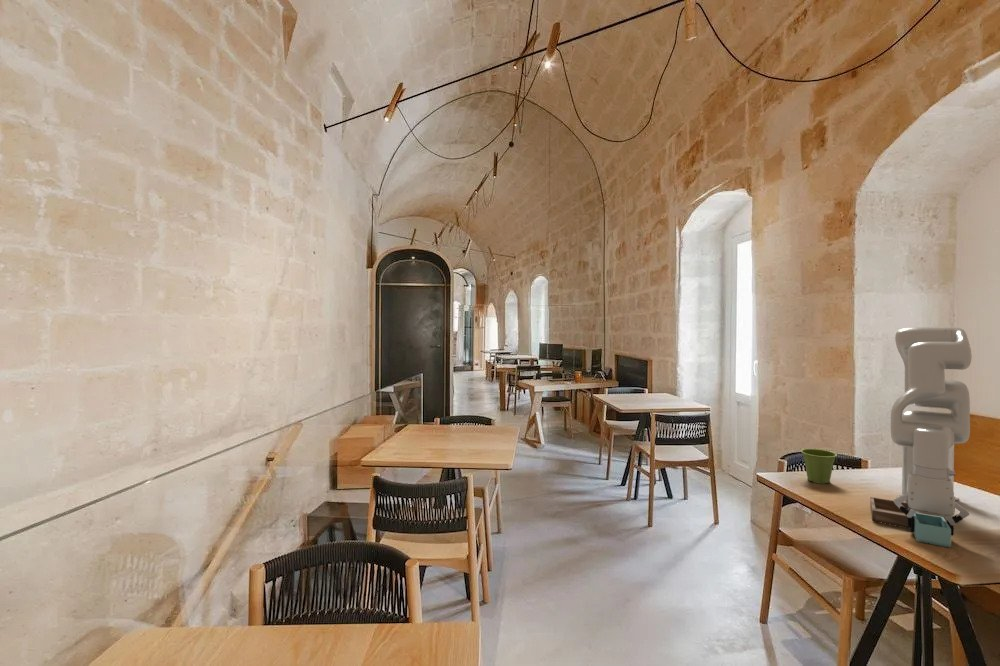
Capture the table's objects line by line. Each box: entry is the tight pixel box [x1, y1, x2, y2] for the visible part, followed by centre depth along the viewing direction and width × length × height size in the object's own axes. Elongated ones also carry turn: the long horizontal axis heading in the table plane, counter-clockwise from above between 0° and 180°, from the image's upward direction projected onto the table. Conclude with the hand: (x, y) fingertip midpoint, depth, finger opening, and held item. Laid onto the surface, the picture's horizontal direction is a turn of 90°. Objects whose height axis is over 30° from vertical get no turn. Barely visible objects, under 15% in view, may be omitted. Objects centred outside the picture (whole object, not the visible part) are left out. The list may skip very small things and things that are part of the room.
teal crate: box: [912, 512, 952, 548], centre depth 137 cm, size 10×7×5 cm
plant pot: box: [800, 448, 838, 485], centre depth 188 cm, size 12×12×11 cm
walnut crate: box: [869, 496, 921, 529], centre depth 151 cm, size 15×12×4 cm
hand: (929, 533), depth 137 cm, fingers closed on teal crate, 7 cm apart
